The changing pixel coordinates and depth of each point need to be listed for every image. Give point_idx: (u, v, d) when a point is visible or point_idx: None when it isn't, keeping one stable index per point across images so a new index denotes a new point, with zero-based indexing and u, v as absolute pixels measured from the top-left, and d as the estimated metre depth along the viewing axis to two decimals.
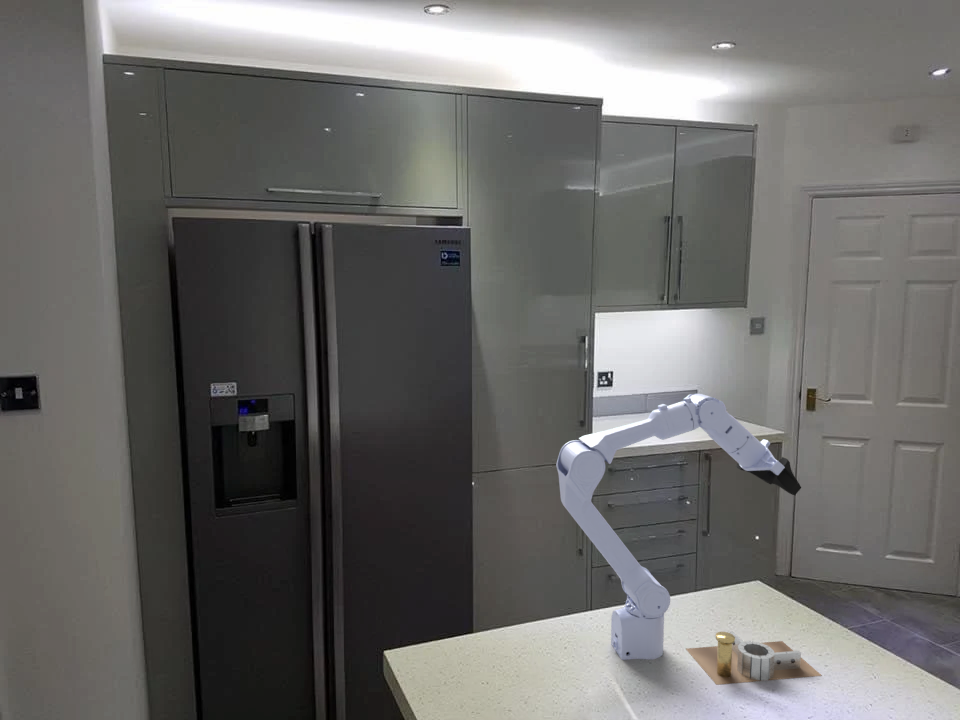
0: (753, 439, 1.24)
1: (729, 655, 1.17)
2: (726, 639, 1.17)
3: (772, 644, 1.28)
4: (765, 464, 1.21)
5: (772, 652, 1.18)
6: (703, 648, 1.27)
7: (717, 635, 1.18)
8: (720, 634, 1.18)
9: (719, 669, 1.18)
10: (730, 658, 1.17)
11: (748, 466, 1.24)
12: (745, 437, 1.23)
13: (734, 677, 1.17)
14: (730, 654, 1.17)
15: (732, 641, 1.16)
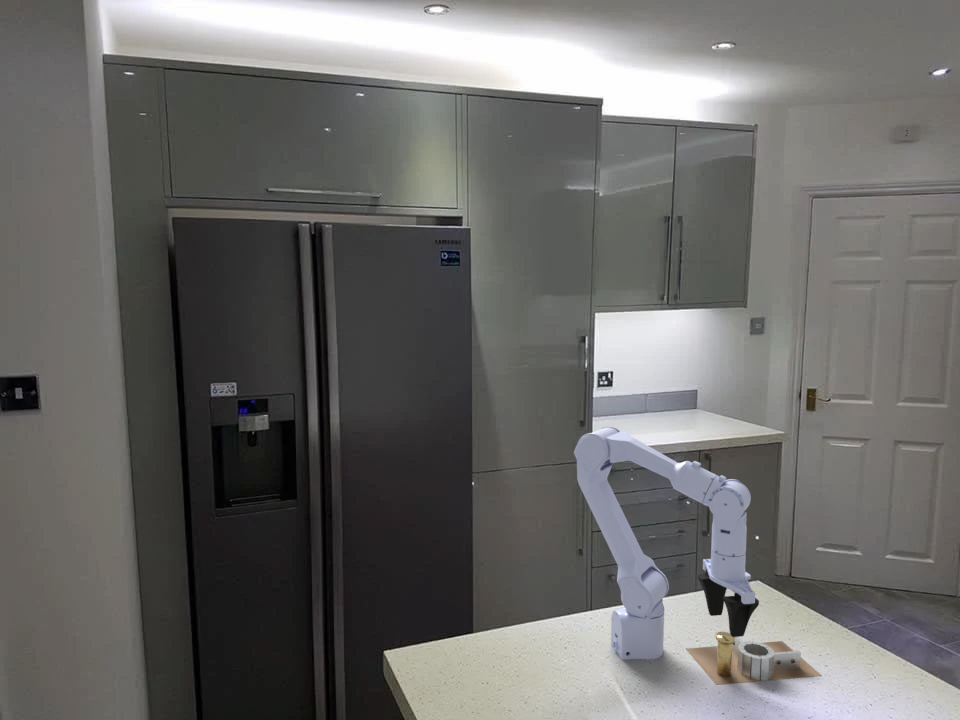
0: (744, 561, 1.15)
1: (729, 655, 1.17)
2: (726, 639, 1.17)
3: (772, 644, 1.28)
4: (738, 587, 1.12)
5: (772, 652, 1.18)
6: (703, 648, 1.27)
7: (717, 635, 1.18)
8: (720, 634, 1.18)
9: (719, 669, 1.18)
10: (730, 658, 1.17)
11: (719, 578, 1.15)
12: (731, 553, 1.14)
13: (734, 677, 1.17)
14: (730, 654, 1.17)
15: (732, 641, 1.16)
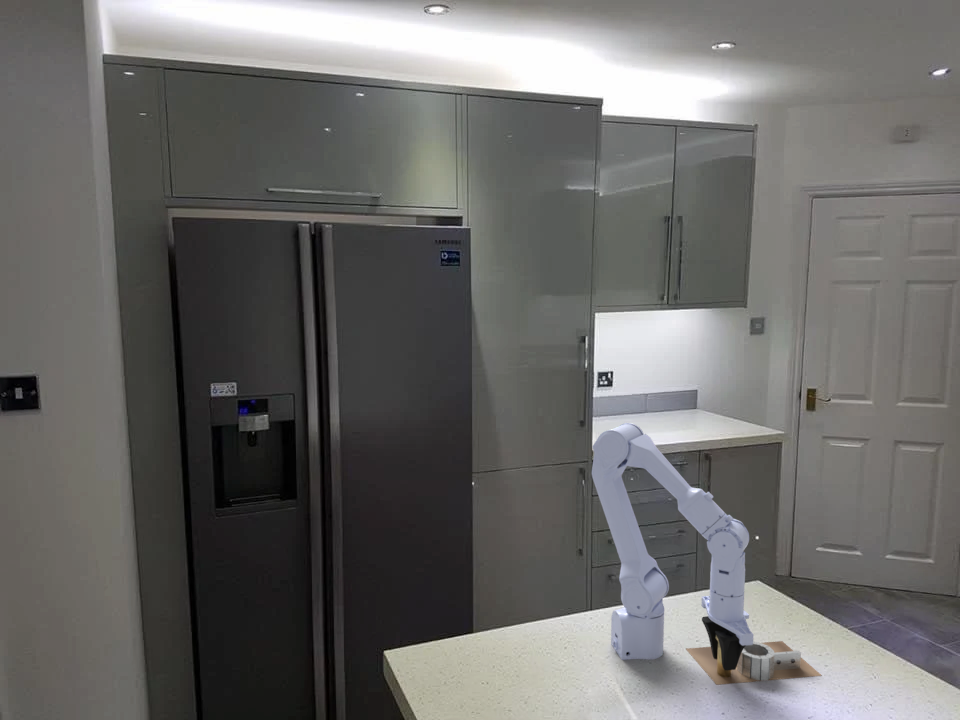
0: (743, 601, 1.15)
1: None
2: None
3: (772, 644, 1.28)
4: (737, 628, 1.13)
5: (772, 652, 1.18)
6: (703, 648, 1.27)
7: None
8: None
9: (719, 669, 1.18)
10: None
11: (718, 618, 1.15)
12: (729, 593, 1.14)
13: (734, 677, 1.17)
14: None
15: None
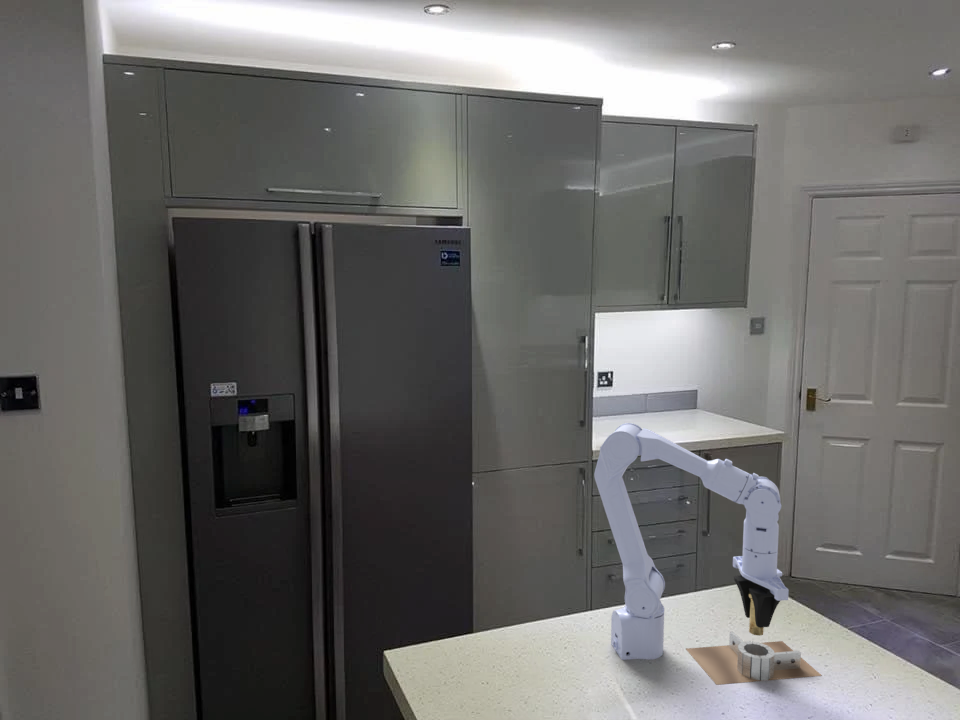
0: (776, 558, 1.16)
1: None
2: None
3: (772, 644, 1.28)
4: (771, 584, 1.13)
5: (772, 652, 1.18)
6: (703, 648, 1.27)
7: (750, 593, 1.18)
8: None
9: (751, 627, 1.18)
10: None
11: (751, 575, 1.16)
12: (767, 550, 1.14)
13: (734, 677, 1.17)
14: None
15: None
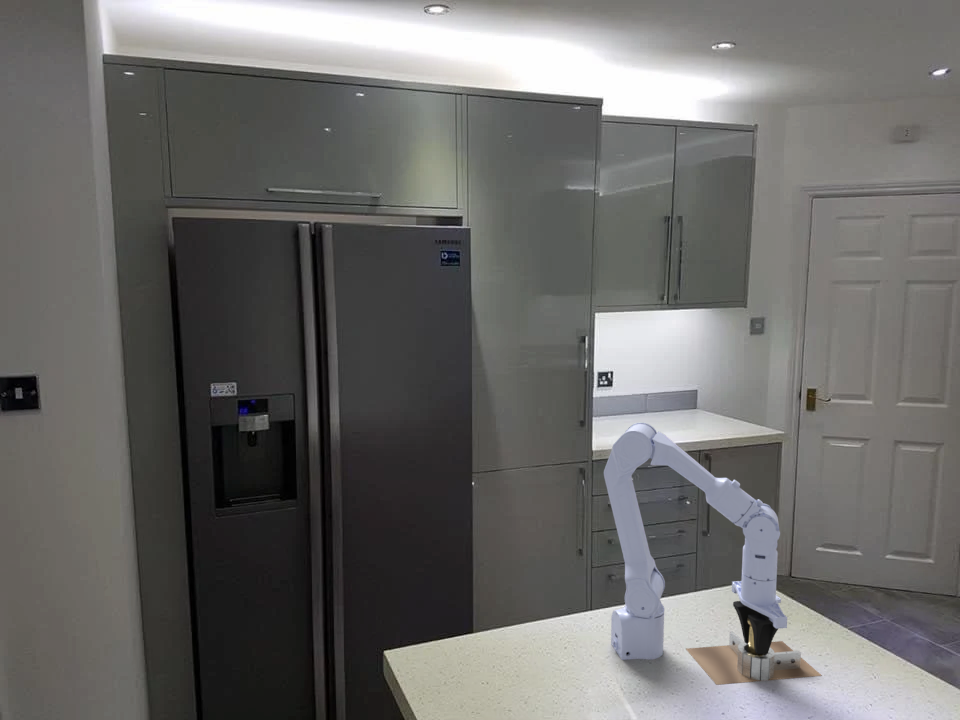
0: (775, 585, 1.16)
1: None
2: None
3: (772, 644, 1.28)
4: (770, 612, 1.13)
5: (772, 652, 1.18)
6: (703, 648, 1.27)
7: None
8: None
9: (750, 653, 1.18)
10: None
11: (750, 602, 1.16)
12: (766, 577, 1.15)
13: (734, 677, 1.17)
14: None
15: None
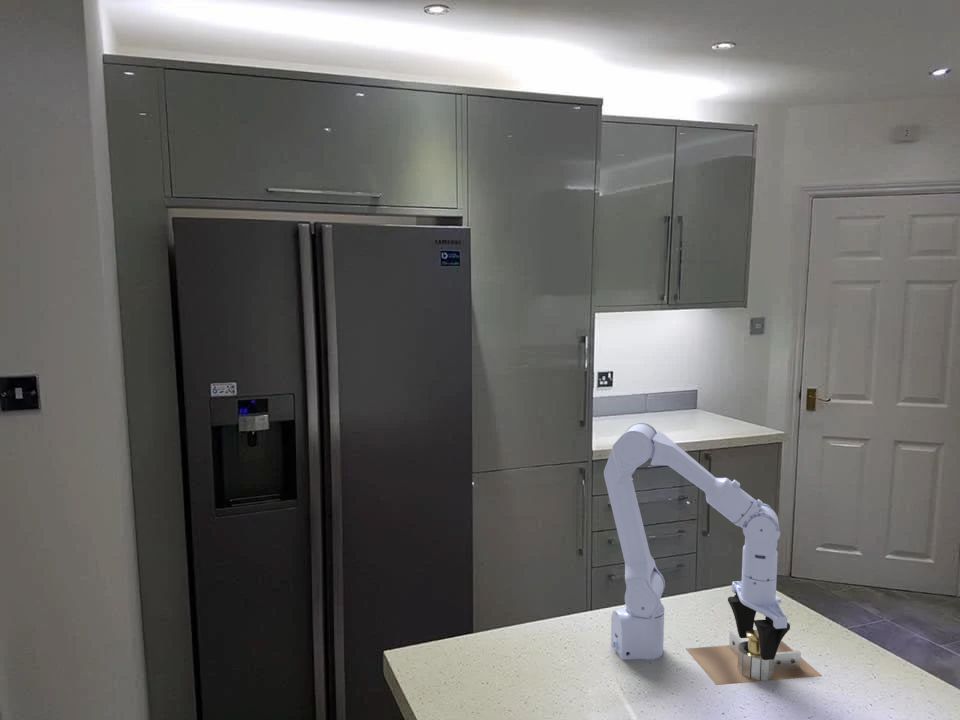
0: (775, 585, 1.16)
1: None
2: (757, 637, 1.17)
3: None
4: (770, 612, 1.13)
5: None
6: (703, 648, 1.27)
7: (748, 633, 1.19)
8: (750, 632, 1.19)
9: None
10: None
11: (750, 602, 1.16)
12: (766, 577, 1.15)
13: (734, 677, 1.17)
14: None
15: None
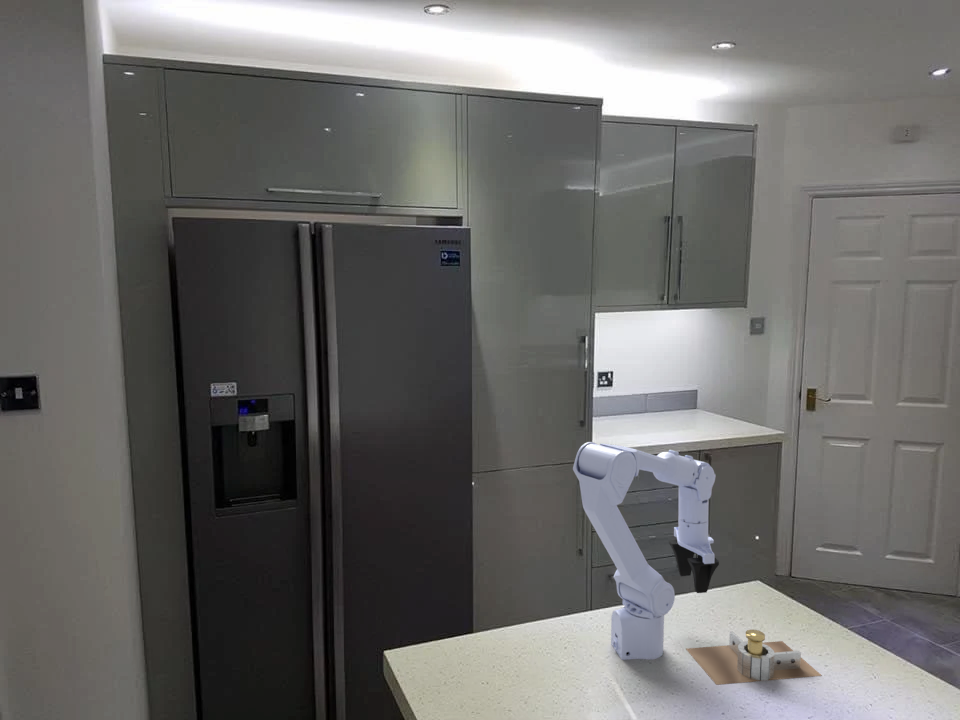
0: (707, 527, 1.31)
1: (759, 653, 1.18)
2: (756, 637, 1.17)
3: (772, 644, 1.28)
4: (701, 550, 1.28)
5: (772, 652, 1.18)
6: (703, 648, 1.27)
7: (747, 633, 1.19)
8: (750, 632, 1.19)
9: None
10: (760, 655, 1.18)
11: (685, 542, 1.31)
12: (707, 517, 1.31)
13: (734, 677, 1.17)
14: (760, 652, 1.18)
15: (762, 639, 1.17)
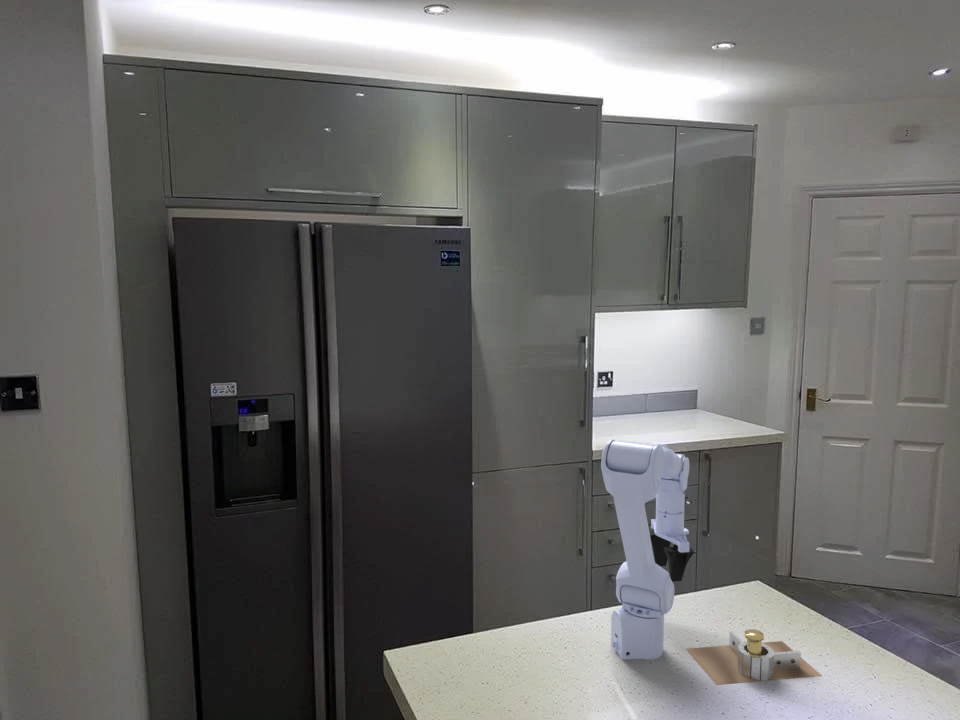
0: (683, 518, 1.36)
1: (759, 652, 1.18)
2: (755, 636, 1.17)
3: (772, 644, 1.28)
4: (676, 539, 1.34)
5: (772, 652, 1.18)
6: (703, 648, 1.27)
7: (746, 633, 1.19)
8: (748, 631, 1.19)
9: None
10: (759, 655, 1.18)
11: (661, 532, 1.36)
12: None
13: (734, 677, 1.17)
14: (760, 651, 1.18)
15: (761, 638, 1.17)
